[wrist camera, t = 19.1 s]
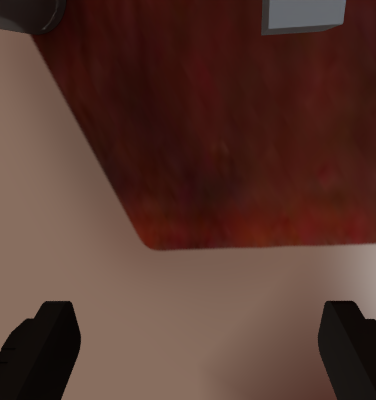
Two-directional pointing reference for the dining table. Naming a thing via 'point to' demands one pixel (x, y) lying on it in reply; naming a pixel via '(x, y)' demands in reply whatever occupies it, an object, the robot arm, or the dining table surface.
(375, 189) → the dining table surface
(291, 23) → the gray bar
